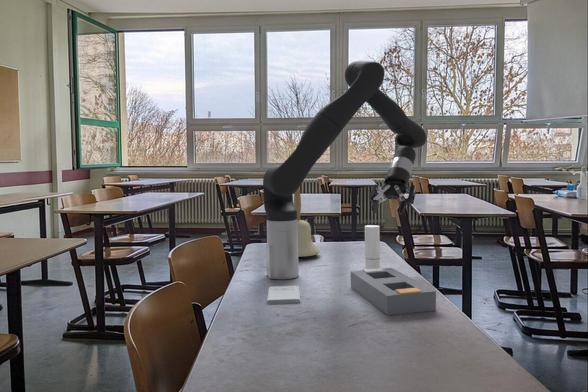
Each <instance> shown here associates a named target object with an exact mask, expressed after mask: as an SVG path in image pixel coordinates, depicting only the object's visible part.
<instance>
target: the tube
mask: <svg viewBox="0 0 588 392" xmlns="http://www.w3.org/2000/svg"><path fill="white" fill-rule="evenodd" d="M380 236H381V234H380V225H375V224H367V225H364V267H365V268H364V269H374V268H381V251H380V250H381V245H380V244H381V241H380V239H381V238H380Z"/></svg>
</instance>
